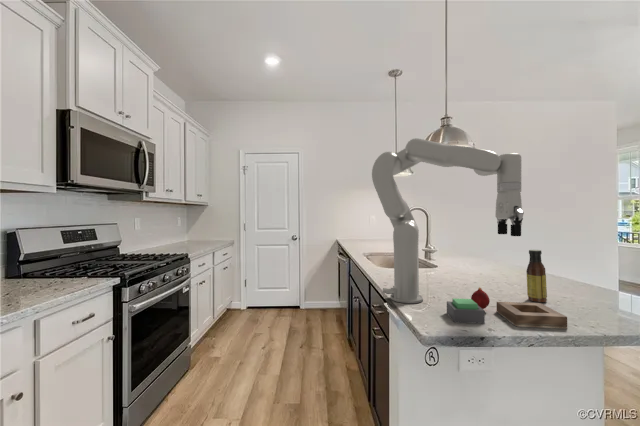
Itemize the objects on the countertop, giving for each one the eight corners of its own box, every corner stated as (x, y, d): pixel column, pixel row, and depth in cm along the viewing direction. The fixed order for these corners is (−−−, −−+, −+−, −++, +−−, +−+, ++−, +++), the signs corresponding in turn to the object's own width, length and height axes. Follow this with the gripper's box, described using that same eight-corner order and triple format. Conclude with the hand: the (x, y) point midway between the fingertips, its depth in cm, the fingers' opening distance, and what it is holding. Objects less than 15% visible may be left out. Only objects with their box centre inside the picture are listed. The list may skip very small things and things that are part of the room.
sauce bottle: (540, 298, 122) (540, 249, 122) (550, 303, 116) (550, 251, 116) (523, 298, 123) (522, 249, 123) (532, 302, 117) (532, 250, 117)
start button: (457, 312, 98) (457, 303, 98) (452, 307, 104) (452, 298, 104) (477, 313, 97) (477, 304, 97) (471, 307, 103) (471, 298, 103)
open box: (516, 326, 93) (516, 314, 93) (496, 311, 107) (496, 301, 107) (567, 328, 91) (567, 316, 91) (540, 313, 104) (540, 303, 104)
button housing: (454, 322, 97) (454, 309, 97) (446, 312, 106) (446, 301, 106) (484, 323, 95) (484, 310, 95) (474, 313, 104) (474, 302, 104)
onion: (493, 312, 105) (492, 289, 105) (476, 312, 105) (475, 289, 105) (484, 307, 111) (484, 285, 111) (468, 307, 111) (468, 285, 111)
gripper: (487, 189, 120) (487, 233, 120) (509, 186, 103) (509, 236, 103) (508, 189, 119) (508, 233, 119) (533, 185, 102) (533, 237, 102)
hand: (508, 235), depth 111 cm, fingers open, 9 cm apart
